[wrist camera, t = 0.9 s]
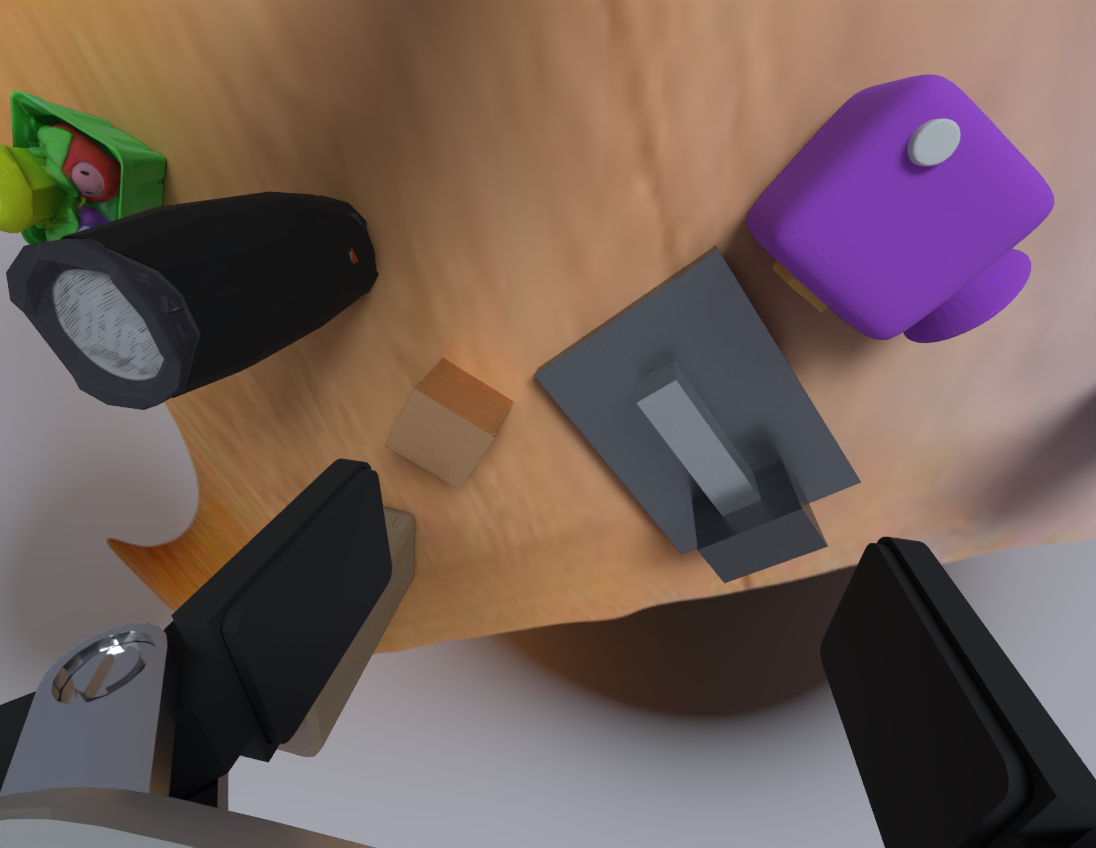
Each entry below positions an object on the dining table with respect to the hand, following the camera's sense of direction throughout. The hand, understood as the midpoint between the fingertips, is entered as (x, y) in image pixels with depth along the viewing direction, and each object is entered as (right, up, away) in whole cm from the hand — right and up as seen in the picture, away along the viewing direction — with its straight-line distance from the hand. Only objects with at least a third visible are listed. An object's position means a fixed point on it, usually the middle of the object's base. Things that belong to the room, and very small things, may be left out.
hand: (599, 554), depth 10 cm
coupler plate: (+11, +3, +30) cm, 32 cm away
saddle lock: (-9, +4, +34) cm, 35 cm away
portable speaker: (-18, +16, +29) cm, 37 cm away
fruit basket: (-35, +21, +29) cm, 50 cm away
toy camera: (+19, +16, +21) cm, 33 cm away
